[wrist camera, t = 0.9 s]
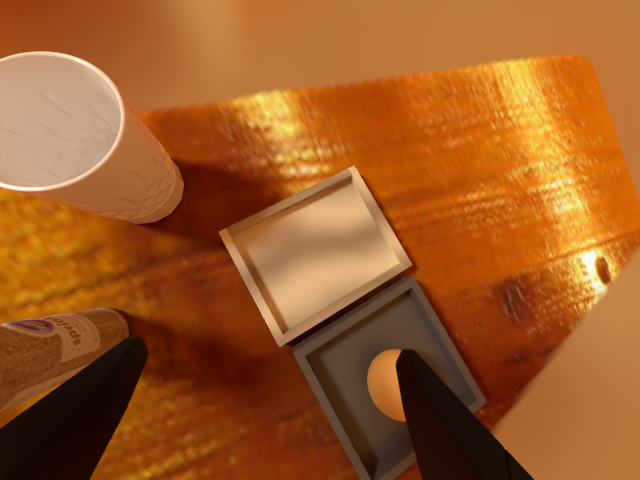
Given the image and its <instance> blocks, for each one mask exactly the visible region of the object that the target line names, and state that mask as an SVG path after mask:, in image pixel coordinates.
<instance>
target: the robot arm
mask: <svg viewBox="0 0 640 480" xmlns="http://www.w3.org/2000/svg"><path fill="white" fill-rule="evenodd" d="M147 358H148V350H147V346H146V343H145V340H144V338H143V337H142V336H129V337H126V338H125V339H123V340H122V341H121V342H119V343H118V344H117V345H115V346H114V347H112V348H111V349H110V350H108V351H107V352H105V353H104V354H103V355H101V356H100V357H99V358H97V359H96V360H94V361H93V362H92V363H90V364H89V365H87V366H86V367H85V368H83V369H82V370H81V371H79V372H78V373H76V374H75V375H74V376H72V377H71V378H69V379H68V380H67V381H65V382H64V383H63V384H61V385H60V386H58V387H57V388H56V389H54V390H53V391H51V392H50V393H49V394H47V395H46V396H45V397H43V398H42V399H40V400H39V401H38V402H36V403H35V404H33V405H32V406H31V407H29V408H28V409H27V410H25V411H24V412H22V413H21V414H20V415H18V416H17V417H15V418H14V419H13V420H11V421H10V422H9V423H7V424H6V425H4V426H3V427H2V428H0V480H89V479H90V478H91V476H92V474H93V472H94V470H95V468H96V466H97V464H98V462H99V460H100V459H101V457H102V455H103V453H104V451H105V449H106V447H107V445H108V443H109V441H110V440H111V438H112V436H113V434H114V432H115V430H116V428H117V426H118V424H119V422H120V421H121V419H122V417H123V415H124V413H125V411H126V409H127V406H128V404H129V402H130V400H131V397H132V395H133V392H134V390H135V387H136V385H137V383H138V380H139V378H140V375H141V373H142V370H143V368H144V365H145V363H146V361H147ZM396 372H397V378H398V384H399V389H400V395H401V401H402V406H403V411H404V415H405V419H406V423H407V427H408V430H409V434H410V437H411V441H412V445H413V448H414V452H415V455H416V459H417V463H418V466H419V470H420V473H421V477H422V480H534V479H533V478H532V477H531V476H530V475H529V474H528V472H527V471H526V470H525V469H524V468H523V467H522V466H521V465H520V464H519V463H518V462H517V461H516V460H515V459H514V457H513V456H512V455H511V454H510V453H509V452H508V451H507V450H505V449H504V447H503V446H502V445H501V443H500V442H499V441H498V440H497V439H496V438H495V437H494V436H493V435H492V434H491V433H490V431H489V430H488V429H487V428H486V427H485V426H484V425H483V424H482V423H481V422H480V421H479V419H478V418H477V417H476V416H475V415H474V414H473V413H472V412H471V411H470V410H469V409H468V407H467V406H466V405H465V404H464V403H463V402H462V401H461V400H460V399H459V398H458V397H457V396H456V394H455V393H454V392H453V391H452V390H451V389H450V388H449V387H448V386H447V385H446V384H445V382H444V381H443V380H442V379H441V378H440V377H439V376H438V375H437V374H436V373H435V372H434V370H433V369H432V368H431V367H430V366H429V365H428V364H427V363H426V362H425V361H424V360H423V359H422V357H421V356H420V355H419V354H418V353H417V352H416V351H415V350H413V349H402V350H401V352H400V354H399V356H398V359H397V361H396Z"/></svg>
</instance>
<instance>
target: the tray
mask: <svg viewBox="0 0 640 480" xmlns="http://www.w3.org/2000/svg"><path fill="white" fill-rule="evenodd" d="M219 234H220V236H221V238H222V240H223V242H224V244H225V246H226V248H227V249H228V251H229V253H230V255H231V257H232V259H233V261H234V263H235V265H236V266H237V268H238V270H239V272H240V274H241V276H242V278H243V280H244V282H245V283H246V285H247V287H248V289H249V291H250V293H251V295H252V297H253V299H254V300H255V302H256V304H257V306H258V308H259V310H260V312H261V314H262V316H263V317H264V319H265V321H266V323H267V325H268V327H269V329H270V331H271V333H272V334H273V336H274V338H275V340H276V342H277V344H278V346H279V347H281V346H282V345H284V344H286V343H287V342H289V341H291V340H292V339H294V338H295V337H297V336H299V335H300V334H302V333H303V332H305V331H307V330H308V329H310V328H312V327H313V326H315V325H316V324H318V323H320V322H321V321H323V320H324V319H326V318H328V317H329V316H331V315H333V314H334V313H336V312H337V311H339V310H341V309H342V308H344V307H345V306H347V305H349V304H350V303H352V302H354V301H355V300H357V299H358V298H360V297H362V296H363V295H365V294H366V293H368V292H370V291H371V290H373V289H375V288H376V287H378V286H379V285H381V284H383V283H384V282H386V281H387V280H389V279H391V278H392V277H394V276H396V275H397V274H399V273H400V272H402V271H404V270H405V269H407V268H408V267H410V266H412V263H411V261H410V260H409V258H408V256H407V254H406V253H405V251H404V249H403V248H402V246H401V244H400V243H399V241H398V239H397V237H396V236H395V234H394V232H393V231H392V229H391V227H390V225H389V224H388V222H387V220H386V219H385V217H384V215H383V213H382V212H381V210H380V208H379V207H378V205H377V203H376V202H375V200H374V198H373V196H372V195H371V193H370V191H369V190H368V188H367V186H366V184H365V183H364V181H363V179H362V178H361V176H360V174H359V172H358V171H357V169H356V167H355V166H352V167H350V168H348V169H346V170H344V171H342V172H340V173H338V174H336V175H334V176H332V177H330V178H328V179H326V180H324V181H321V182H319V183H317V184H315V185H313V186H311V187H309V188H307V189H305V190H303V191H301V192H299V193H297V194H295V195H293V196H291V197H289V198H287V199H285V200H282V201H280V202H278V203H276V204H274V205H272V206H270V207H268V208H266V209H264V210H262V211H260V212H258V213H256V214H254V215H252V216H250V217H248V218H246V219H244V220H241V221H239V222H237V223H235V224H233V225H231V226H229V227H227V228H225V229H223V230H221V231H219Z"/></svg>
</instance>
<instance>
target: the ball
mask: <svg viewBox="0 0 640 480" xmlns="http://www.w3.org/2000/svg"><path fill="white" fill-rule="evenodd" d="M400 352H401V349H390V350H386V351H383V352H382V353H380V354H379V355H377V356H376V357H375V358H374V360H373V361H372V363H371V365H370V367H369V370H368V375H367V385H368V390H369V393H370V396H371V398H372V400H373V402H374V403H375V405H376V406H377V407H378V409H379V410H380V411H381V412H382V413H384V414H385V415H387V416H388V417H390V418H392V419H395V420H398V421H406V419H405V415H404V411H403V406H402V401H401V395H400V389H399V384H398V378H397V372H396V361H397V359H398V356H399V354H400Z"/></svg>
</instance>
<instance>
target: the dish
mask: <svg viewBox="0 0 640 480" xmlns="http://www.w3.org/2000/svg"><path fill="white" fill-rule="evenodd" d="M390 349H401V350H402V349H413V350H415V351H416V352H417V353H418V354H419V355H420V356H421V357H422V359H423V360H424V361H425V362H426V363H427V364H428V365H429V366H430V367H431V368H432V369H433V370H434V372H435V373H436V374H437V375H438V376H439V377H440V378H441V379H442V380H443V381H444V382H445V384H446V385H447V386H448V387H449V388H450V389H451V390H452V391H453V392H454V393H455V394H456V396H457V397H458V398H459V399H460V400H461V401H462V402H463V403H464V404H465V405H466V406H467V407H468V409H469V410H470V411H471V412H472V413H473V414H474V413H475V412H476V411H477V410H479V409H480V408H481V407H482V406H483V405H485V404H486V403H487V401H486V399H485V397H484V395H483V394H482V392H481V390H480V389H479V387H478V385H477V383H476V382H475V380H474V378H473V377H472V375H471V373H470V371H469V370H468V368H467V366H466V365H465V363H464V361H463V359H462V358H461V356H460V354H459V353H458V351H457V349H456V347H455V346H454V344H453V342H452V341H451V339H450V337H449V335H448V334H447V332H446V330H445V329H444V327H443V325H442V323H441V322H440V320H439V318H438V317H437V315H436V313H435V311H434V310H433V308H432V306H431V305H430V303H429V301H428V299H427V298H426V296H425V294H424V293H423V291H422V289H421V287H420V286H419V284H418V282H417V281H416V279H415V277H402V278H400V279H399V280H397V281H395V282H394V283H392V284H391V285H389V286H387V287H386V288H384V289H383V290H381V291H379V292H378V293H376V294H375V295H373V296H371V297H370V298H368V299H367V300H365V301H363V302H362V303H360V304H359V305H357V306H355V307H354V308H352V309H351V310H349V311H347V312H346V313H344V314H343V315H341V316H339V317H338V318H336V319H335V320H333V321H331V322H330V323H328V324H327V325H325V326H323V327H322V328H320V329H319V330H317V331H315V332H314V333H312V334H311V335H309V336H307V337H306V338H304V339H303V340H301V341H299V342H298V343H296V344H295V345H293V346H292V350H293V354H294V356H295V358H296V360H297V362H298V364H299V366H300V367H301V369H302V371H303V373H304V375H305V377H306V379H307V381H308V382H309V384H310V386H311V388H312V390H313V392H314V394H315V396H316V397H317V399H318V401H319V403H320V405H321V407H322V409H323V411H324V412H325V414H326V416H327V418H328V420H329V422H330V424H331V426H332V427H333V429H334V431H335V433H336V435H337V437H338V439H339V441H340V442H341V444H342V446H343V448H344V450H345V452H346V454H347V456H348V457H349V459H350V461H351V463H352V465H353V467H354V469H355V471H356V473H357V474H358V476H359V478H360V480H394V479H395V478H396V477H397V476H398V475H400V474H401V473H402V472H403V471H405V470H406V469H407V468H408V467H409V466H411V465H412V464H413V463H414V462H415V461H417V459H416V455H415V452H414V448H413V445H412V441H411V437H410V434H409V430H408V427H407V423H406V421H398V420H395V419H392V418H390V417H388V416H387V415H385V414H384V413H382V412H381V411H380V410H379V409H378V407H377V406H376V405H375V403H374V402H373V400H372V398H371V396H370V393H369V390H368V385H367V375H368V370H369V367H370V365H371V363H372V361H373V360H374V358H375V357H376V356H377V355H379V354H380V353H382V352H383V351H386V350H390Z"/></svg>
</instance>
